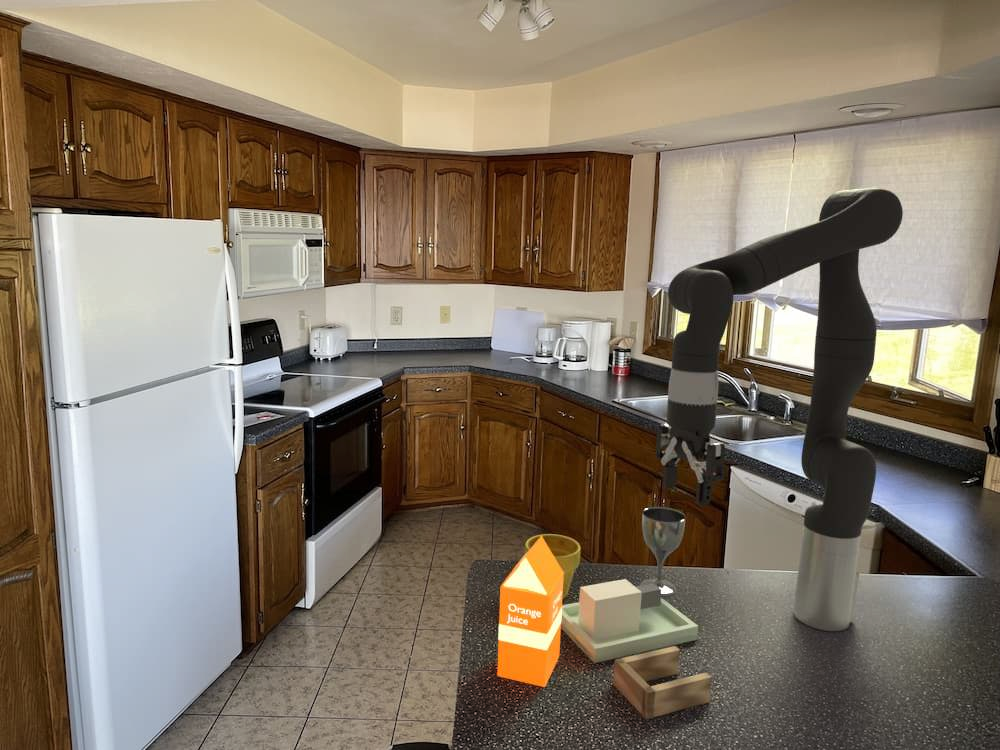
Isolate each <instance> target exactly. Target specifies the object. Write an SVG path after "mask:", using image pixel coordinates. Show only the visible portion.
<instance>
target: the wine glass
mask: <svg viewBox="0 0 1000 750" xmlns="http://www.w3.org/2000/svg"><path fill="white" fill-rule="evenodd" d="M641 520H642V521H641V523H642V524H641V525H642V534H643V539H644V542H645V543H646V545H647V547H648V548H649V549H650V550H651V552H652V553H653V555H654V556H655V559H656V563H657V564H656V565H657V566H656V567H657V568H656V571H657V575H656V576H657V577H656V578H648V579H643V580H642V581H641V582H640V583H639V586H641V585H647V584H652V583H654V584H655V585H656V586H658V587H659V588H660V589H661V597H671V596H674V595H675V594H677V592H678V588H677V586H676V585H675V584H673V583H672V582H671V581H667V580H664V579H662V571H663V567H664V562H665V560H666V559H667V557H668V556H669V555H670V554H672V552H674V551H676V549H677V548H679V546H680V544H681V542H682V538H683V535H684V533H685V527H686V526H685V525H686V515H685V513H683V511H681V510H678V509H675V508H671V507H665V506H664V507H663V506H651V507H648V508H645V509H644V510H643V511H642V519H641Z"/></svg>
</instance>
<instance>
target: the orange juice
mask: <svg viewBox="0 0 1000 750" xmlns="http://www.w3.org/2000/svg"><path fill="white" fill-rule="evenodd" d="M563 575H564V572H563V571H562V569H561V568H560V566H559V564H558V563H557V561H556V559H555V557H554V556H553V554H552V552H551V551H550V549H549V547H548V546H547V544H546V542H545V541H544V539H543V537H542V536H541V537H540V538H539V539H538V540H537V542H536V543H535V544H534V545H533V546H532V547H531V549H530V550H529V551H528V552H527V553H526V554H525V553H524V555H523V557H521V559H520V560H519V562H518V563H516V565H515V566H514V568H513V569H512V571H510V573H509V574H508V576H507V577H506V578H505V580H504V581H503V582H502V583H501V586H500V587H499V588H500V589H499V591H500V594H499V617H498V618H499V620H498V622H499V623H498V638H497V639H498V647H497V673H496V676H497V677H500V678H505V679H508V680H513V681H518V682H521V683H526V684H530V685H534V686H539V687H543V688H545V687H546V685H547V684H548V681H549V679H550V677H551V675H552V673H553V670H554V668H555V667H556V665H557V662H558V660H559V657H560V653H561V652H560V648H561V647H560V646H561V630H562V628H561V619H562V605H563V599H562V594H563Z"/></svg>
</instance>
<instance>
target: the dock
mask: <svg viewBox="0 0 1000 750" xmlns="http://www.w3.org/2000/svg"><path fill="white" fill-rule="evenodd" d="M680 656H681V649H680V648H678V647H677V646H676V645H672V646H668V647H663V648H659V649H655V650H650V651H646V652H641V653H637V654H633V655H628V656H624V657H620V658H615V659H614V667H613V680H612V681H613V682H612V684H613V686H614V687H615V688H616V689H617V690H618V691H619V692H620V693H621V694H622V695H623V696H624V697H625V699H626V700H628V702H629V703H631V705H632V706H633V707H634V708H635V709H636V710H637V711H638V712H639V714H641V715H642V716H643V718H645V720H649V719H652V718H656V717H660V716H663V715H667V714H670V713H674V712H677V711H680V710H684V709H688V708H689V709H690V708H692V707H696V706H699V705H704V704H706V703H710V702H711V701H710V700H711V689H712V683H713V682H712V681H713V679H712V678H713V676H711V674H710V673H708V672H703V673H699V674H695V675H690V676H686V677H683V678H679V679H673V680H671V681H667V682H662V683H660V684H655V685H649V683H647V682H649V681H650V682H651V681H653V680H657V679H662V678H667V677H670V676H675V675H678V674H679V667H680Z"/></svg>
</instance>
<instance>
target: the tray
mask: <svg viewBox="0 0 1000 750" xmlns="http://www.w3.org/2000/svg"><path fill="white" fill-rule="evenodd" d="M578 615H579V601H578V602H574V603H573V602H572V603H567V604H562V619H561V630H562V631H563V632H564V633H565V634H566V636H567V637H569V638H570V639H571V640H572V642H573V643H574V644H575V645H577V646H578V648H579V649H580V650H581V651H582V652H583V653H584V654H585V655H586V656H587V657H588V658H589V659H590V660H591V662H592V663H594V664H597V663H602V662H606V661H611V660H616V659H620V658H625V657H629V656H633V655H638V654H642V653H646V652H651V651H655V650H660V649H664V648H668V647H673V646H676V645H682V644H685V643H689V642H692V641H693V642H694V641H697V640H698V634H699V633H698V632H699V625H698V624H696V623H695V622H694V621H692V619H690V618H688V617H687V616H686V615H684V614H683V613H682V612H680V610H678V609H676V607H674V606H673V605H671V604H670V603H669V602H668V601H666V599H664V598H662V597H661V602H660V606H655V607H650V608H645V609H640V623H639V631H634V632H629V633H624V634H620V635H615V636H610V637H606V638H601V639H596V640H593V639H592V638H591V637H590V636H589V635H588V634H587V633H586V632H585V631H584V630H583V629H582V628H581V627H580V626H579V625H578ZM632 654H633V655H632Z"/></svg>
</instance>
